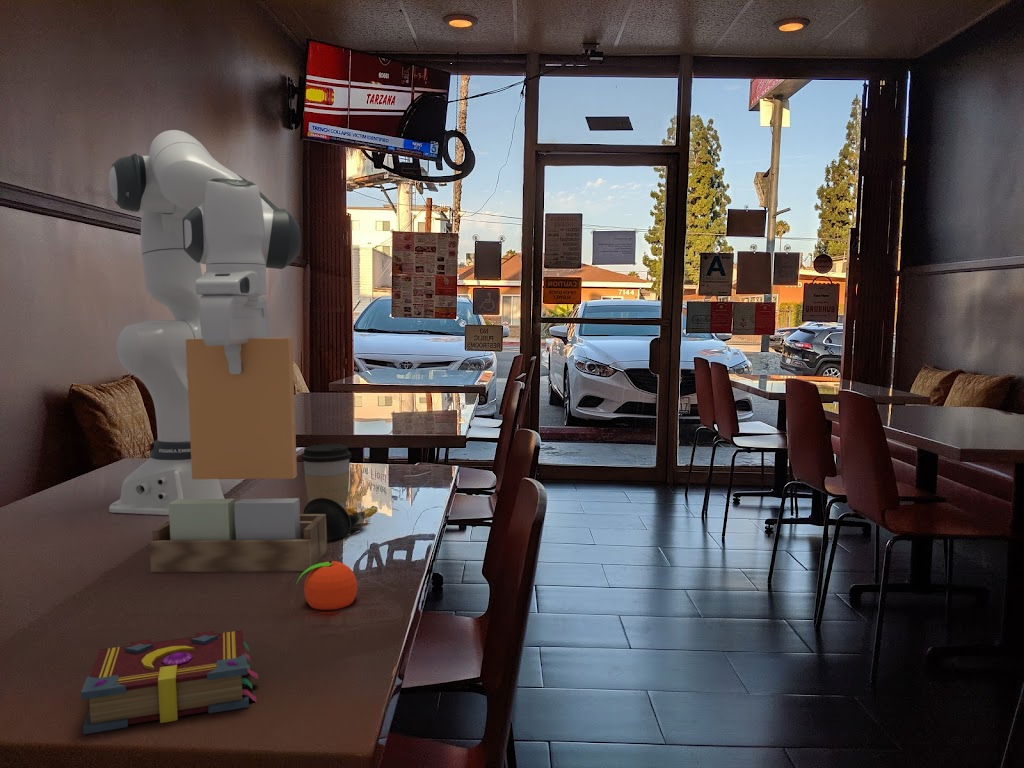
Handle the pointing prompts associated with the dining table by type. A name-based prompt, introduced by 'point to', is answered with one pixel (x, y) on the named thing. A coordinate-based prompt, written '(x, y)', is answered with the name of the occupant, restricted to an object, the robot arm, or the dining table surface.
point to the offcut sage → (202, 519)
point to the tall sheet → (242, 411)
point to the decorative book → (167, 680)
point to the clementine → (330, 586)
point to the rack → (240, 551)
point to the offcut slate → (267, 519)
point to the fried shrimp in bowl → (338, 517)
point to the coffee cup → (327, 472)
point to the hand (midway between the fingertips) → (240, 373)
